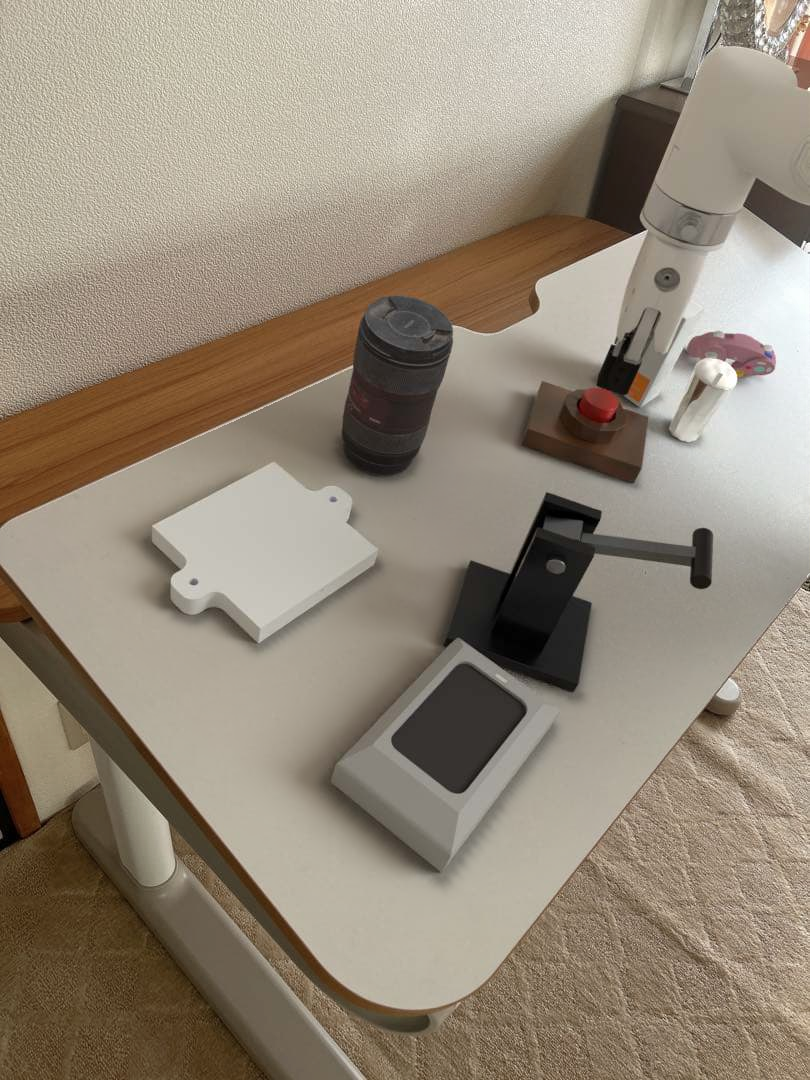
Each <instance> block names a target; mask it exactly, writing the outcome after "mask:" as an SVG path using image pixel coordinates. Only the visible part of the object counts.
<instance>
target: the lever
mask: <svg viewBox="0 0 810 1080" xmlns="http://www.w3.org/2000/svg"><path fill="white" fill-rule="evenodd" d="M543 529H545V530H548V531H551V532H554V533H556V534H559V535H562V536H565V537H568V538H571V539H574V540H577V541H579V542H582V543H585V544H588V545H591V546H594V547H595V548H596V549H595V555H601V556H609V557H617V558H625V559H631V560H632V559H633V560H639V561H647V562H653V563H661V564H670V565H677V566H684V567H690V573H689V584H690V586H692V587H693V588H694V589H697V590H705V589H708V588H710V587H711V585H712V582H713V558H714V557H713V554H714V533H713V531H712V530H711V529H710V528H707V527H699V528H696V529H695V530H694V531H693V532H692V539H691V545H684V544H675V543H667V542H660V541H652V540H644V539H637V538H630V537H629V538H628V537H620V536H612V535H606V534H597V533H593V534H590V533H582V531H583V521H582V520H574V519H566V518H558V517H550V516H546V517H545V521H544V525H543Z"/></svg>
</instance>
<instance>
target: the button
mask: <svg viewBox="0 0 810 1080" xmlns="http://www.w3.org/2000/svg"><path fill="white" fill-rule="evenodd" d="M586 389H587V390H586V391H585V392H584V395H583V397H582V399H581V401H580V404H579V411H580V413H581V414H583V415H584V416H585V417H587V418H588V419H590V420H593V421H596V422H598V423H607V422H609V421H610V420H611V419H612V417H613V415H614V413H615V411H616V409H617V407H618V402H619V399H618V398H617V396H615V394H613V392H612V391H609V390H606V389H603V388H600V387H598V386H596V387H595V386H593V387H589V388H586Z"/></svg>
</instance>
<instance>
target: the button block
mask: <svg viewBox="0 0 810 1080" xmlns="http://www.w3.org/2000/svg"><path fill="white" fill-rule="evenodd" d="M587 389H588V388H577V389H574V390H571V389H568V388H565V387H563V386H560V385H556V384H554V383H551V382H547V381H544V380H541V382H540V384H539V387H538V390H537V392H536V394H535V398H534V401H533V405H532V408H531V411H530V415H529V418H528V422H527V425H526V428H525V432H524V435H523V439H522V441H521V445H522V446H524V447H525V448H526V447H527V448H530V449H532V450H535V451H538V452H540V453H544V454H547V455H550V456H552V457H555V458H559V459H561V460H564V461H567V462H570V463H573V464H576V465H579V466H582V467H585V468H587V469H590V470H593V471H596V472H599V473H601V474H605V475H608V476H611V477H614V478H616V479H618V480H619V479H620V480H622V481H625V482H628V483H631V484H635V482H636V480H637V479H638V477H639V475H640V473H641V471H642V468H643V462H644V456H645V448H646V441H647V432H648V424H649V416H646V415H644V414H641V413H638V412H636V411H632V410H629V409H626V408H624V407H623V406H622V404H621V403H620V402H619V401H618V407H617V409H616V411H615V413H614V415H613V417H612V419H611V420H610V421H609V422H607V423H598V422H596V421H593V420H590V419H588V418H587V417H585V416H584V415H583V414H581V413H580V411H579V404H580V401H581V399H582V397H583V395H584V392H585V391H586V390H587Z"/></svg>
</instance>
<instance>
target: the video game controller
mask: <svg viewBox="0 0 810 1080" xmlns="http://www.w3.org/2000/svg"><path fill="white" fill-rule="evenodd" d="M686 353H687V355H688V357H690V358H697V359H700V360H702V359H705V358H712V359H719V360H722V361H724V362H727V361H726V360H727V359H728V360H732V361H733V362H731V364H730V366H731V367H732V368H733V369H734V370H735V372H736V374H737V379H745V378H748V377H751V376H767V375H770V374H772V373H773V372H774V371H775V369H776V365H777V359H776V353H775V351H774V349H773V346H772V345H770V344H763V343H762V342H760V341H759V340H757V339H755V338H754V337H752V336H751V335H748V334H744V333H728V332H727V333H726V332H725V333H724V332H723V331H721V330H716V331H708V332H705V333H703V334H700V335H695V336H693V337H691V339H690V340H689V342H688V344H687V347H686Z"/></svg>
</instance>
